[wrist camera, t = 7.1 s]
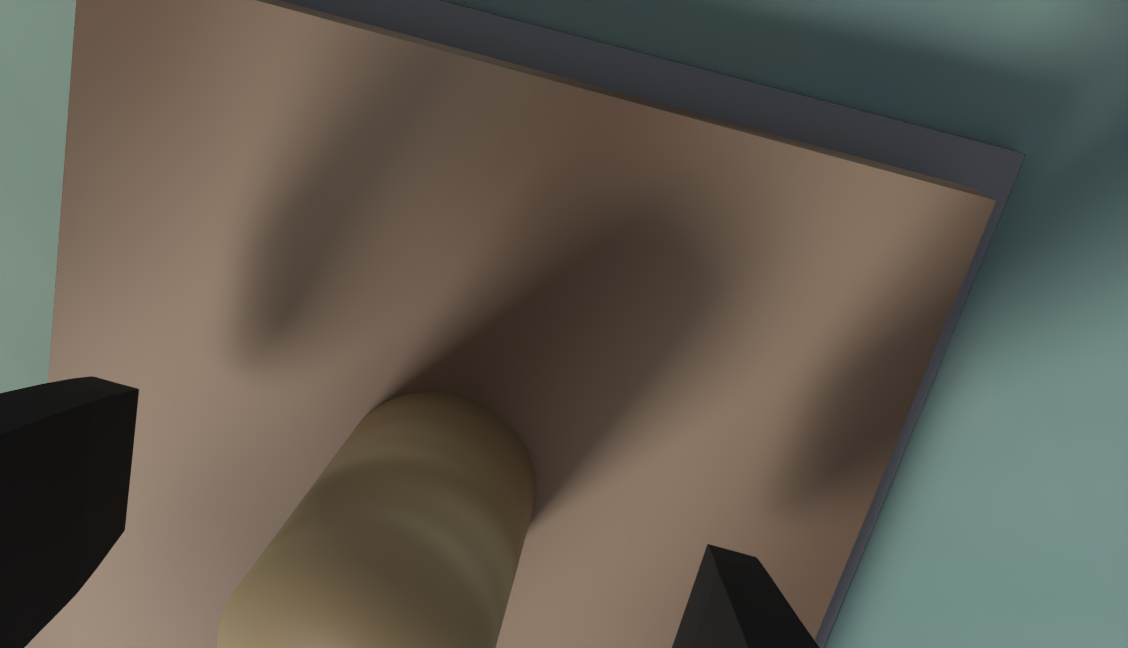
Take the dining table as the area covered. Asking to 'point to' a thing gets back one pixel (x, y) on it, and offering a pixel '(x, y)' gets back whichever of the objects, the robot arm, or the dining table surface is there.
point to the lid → (467, 338)
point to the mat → (418, 11)
